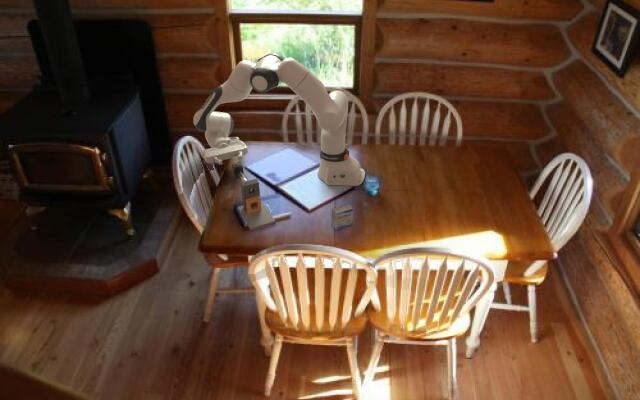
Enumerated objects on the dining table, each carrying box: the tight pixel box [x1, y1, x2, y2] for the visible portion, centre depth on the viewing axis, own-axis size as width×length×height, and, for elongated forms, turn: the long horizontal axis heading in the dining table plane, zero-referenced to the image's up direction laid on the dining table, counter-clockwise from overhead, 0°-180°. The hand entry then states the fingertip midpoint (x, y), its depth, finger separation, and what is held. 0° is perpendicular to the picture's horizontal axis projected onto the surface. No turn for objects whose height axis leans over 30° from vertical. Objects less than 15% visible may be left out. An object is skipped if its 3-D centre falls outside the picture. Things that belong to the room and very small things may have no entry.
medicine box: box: [330, 203, 354, 231], centre depth 215 cm, size 8×4×9 cm, turn 117°
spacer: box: [245, 195, 262, 214], centre depth 221 cm, size 2×6×6 cm, turn 117°
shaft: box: [231, 161, 251, 190], centre depth 225 cm, size 16×4×6 cm, turn 26°
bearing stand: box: [237, 178, 277, 232], centre depth 217 cm, size 16×11×14 cm
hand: (231, 160), depth 237 cm, fingers open, 8 cm apart
